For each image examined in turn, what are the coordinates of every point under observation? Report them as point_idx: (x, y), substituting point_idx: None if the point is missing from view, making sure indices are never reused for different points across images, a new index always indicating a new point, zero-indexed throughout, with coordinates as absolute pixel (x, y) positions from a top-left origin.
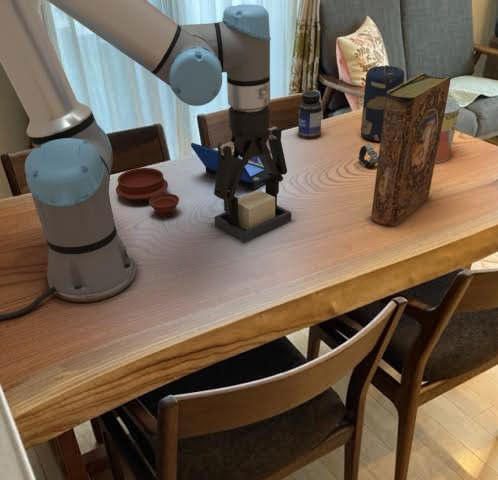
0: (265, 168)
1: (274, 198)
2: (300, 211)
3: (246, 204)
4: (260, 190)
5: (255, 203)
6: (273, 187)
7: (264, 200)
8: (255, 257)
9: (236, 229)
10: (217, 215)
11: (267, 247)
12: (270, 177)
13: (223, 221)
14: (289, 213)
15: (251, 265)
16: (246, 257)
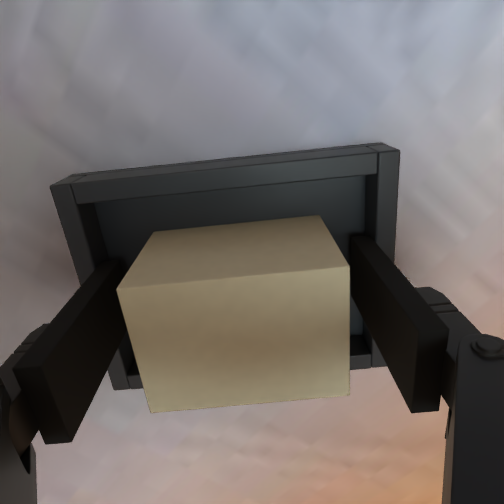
0: (453, 427)
1: (343, 392)
2: (465, 303)
3: (165, 373)
4: (349, 284)
5: (215, 390)
6: (397, 378)
7: (279, 390)
8: (115, 439)
9: None
10: (72, 184)
11: (182, 419)
12: (449, 364)
13: (74, 259)
14: (376, 366)
15: (82, 461)
16: (88, 426)
